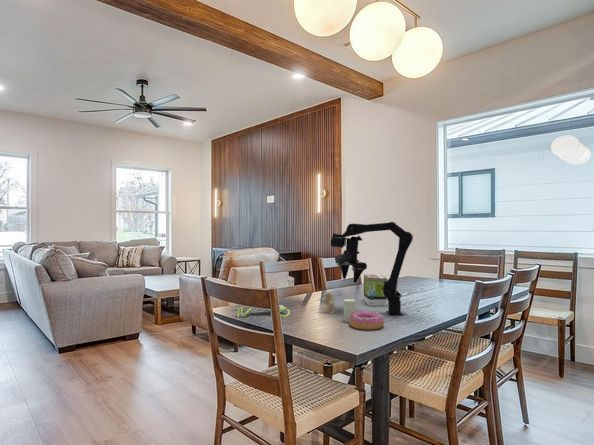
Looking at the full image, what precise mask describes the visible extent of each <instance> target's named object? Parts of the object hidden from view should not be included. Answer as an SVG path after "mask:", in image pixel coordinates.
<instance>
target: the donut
mask: <svg viewBox="0 0 594 445" xmlns="http://www.w3.org/2000/svg"><path fill="white" fill-rule="evenodd" d="M350 315H351V316H350ZM350 315H349V322H348V323H349V324H350V326H351V327H353V328H355V329H358V330H363V331H364V330H365V331H375V330H378V329H381V328H383V326H384V325H385V324H384V323H385V318H384V315H382V314H381V313H379V312H374V311H368V310H367V311H365V310H364V311H355V312H354V313H352V314H350Z"/></svg>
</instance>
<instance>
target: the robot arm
mask: <svg viewBox="0 0 594 445" xmlns="http://www.w3.org/2000/svg"><path fill="white" fill-rule="evenodd" d="M382 231H391V232H392V233H393V234H394V235H395V236H397V237H398V248H397V254H396V257H395V259H394V263H393V266H392V269H391V272H390V276H389V279H386V280H385V282H384V287H383V288H382V289H384V290H383V294H384V296H385V297H387V302H388V303H387V308H388V309H387V310H386V311H385V312H386V314H388V315H390V316H402V315H403V316H404V312H402V307H401V306H402V305H401V304H402V302H401V299H402V294H401V293H400V292H399V291H398V284H399V283H398V282H399V276H400V273H401V270H402V268H403V264H404V260H405V258H406V254H407V251H408V249H409V248H410V246H411V244H412V241H413V240H414V235H413V234H412V233H411V232H410V231H406V230H404V228H402V227H400V226H399V225H398V224H397V223H396V222H394V221H389V222H382V223H381V222H380V223H370V224H365V223H349V224H348V225H347V226H346V230H345V231H344V232H343V233H342V234H339V233H332V237H331V240H330V247H331V248H339V249H344V247H345V250H343V253H340V254H339V255H335V256H334V259H335V260H334V261H335V264H336V265H337V267H339V268H340V270H341V275H342V279H343V280H346V278H347V275H348V272H349V270H350V266H351V267H352V268H351V270H352V272H353V283H357V282H358V280H359V278H360V276H361V275H362V273H364V271H366V270H367V268H368V265H367V263H366V262H362V261H360V259H358V255H359V254H360V251H359V241H363V238H362V236H361V235H362V234H364V233H369V232H371V233H372V232H382Z"/></svg>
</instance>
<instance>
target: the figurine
mask: <svg viewBox="0 0 594 445" xmlns="http://www.w3.org/2000/svg"><path fill="white" fill-rule="evenodd" d="M278 304H279V306H280V311H279V312H280V313H281V312H284V311H286V314H280V315H281V317H280V318H288V317H289V316H290V315H291V311H290V309H289V308H287V307H286V306H284V304H282V303H279V302H278ZM253 309H254V308H250V307H249V308H248V309H247V310H246V311H245V312H243V307H242V306H239V307H238V309H237V318H240V315H241V316H242V317H245V316H246V315H248V314H249V312H251V311H252V310H253ZM260 310H263V311H264V313H265V312H268V311H269V310H264V309H260ZM269 313H270V312H269ZM270 315H271V313H270Z"/></svg>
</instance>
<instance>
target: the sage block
mask: <svg viewBox="0 0 594 445" xmlns="http://www.w3.org/2000/svg"><path fill="white" fill-rule="evenodd" d="M354 312H356V299H354V298H344V300H343V322H344V323H350V322H349V315H350V314H352V313H354ZM350 316H351V315H350Z"/></svg>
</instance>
